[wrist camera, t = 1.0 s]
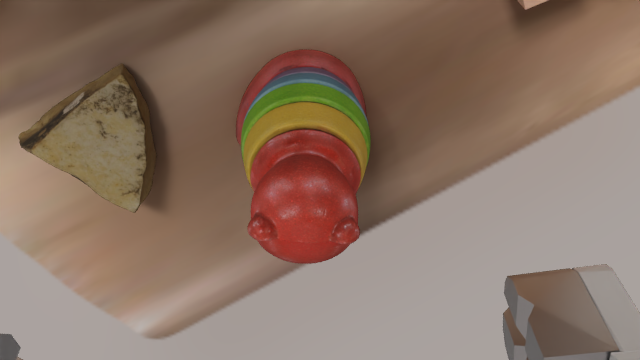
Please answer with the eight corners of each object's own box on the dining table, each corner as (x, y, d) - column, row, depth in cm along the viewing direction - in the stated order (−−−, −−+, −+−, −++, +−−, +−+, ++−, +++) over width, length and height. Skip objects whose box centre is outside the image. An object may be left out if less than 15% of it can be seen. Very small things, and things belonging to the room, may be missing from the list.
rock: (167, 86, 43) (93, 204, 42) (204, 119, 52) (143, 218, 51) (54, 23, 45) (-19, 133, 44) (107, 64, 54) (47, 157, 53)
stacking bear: (234, 147, 51) (205, 299, 36) (245, 35, 45) (216, 163, 31) (357, 162, 52) (376, 316, 37) (382, 56, 46) (417, 188, 32)
